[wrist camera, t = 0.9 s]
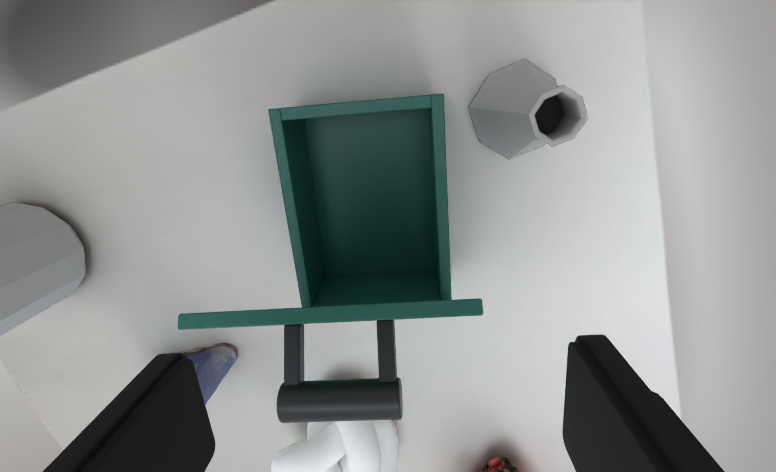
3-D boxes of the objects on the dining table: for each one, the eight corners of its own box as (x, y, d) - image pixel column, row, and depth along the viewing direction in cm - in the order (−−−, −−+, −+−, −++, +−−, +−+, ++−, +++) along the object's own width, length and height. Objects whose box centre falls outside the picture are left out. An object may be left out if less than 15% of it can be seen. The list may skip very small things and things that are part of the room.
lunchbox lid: (177, 313, 16) (170, 442, 15) (482, 298, 15) (494, 434, 14) (301, 314, 32) (302, 376, 31) (452, 307, 31) (456, 370, 30)
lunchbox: (295, 106, 33) (267, 109, 27) (437, 94, 33) (443, 93, 26) (321, 279, 38) (303, 316, 32) (444, 272, 38) (452, 309, 31)
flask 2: (233, 340, 41) (175, 420, 31) (243, 364, 42) (190, 449, 32) (151, 355, 42) (69, 437, 32) (162, 378, 43) (86, 465, 33)
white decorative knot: (298, 354, 41) (269, 421, 33) (414, 376, 41) (415, 449, 33) (286, 439, 45) (258, 519, 37) (393, 460, 45) (389, 544, 37)
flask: (526, 40, 31) (577, 16, 22) (580, 115, 33) (649, 122, 23) (451, 106, 33) (468, 110, 23) (505, 174, 34) (541, 203, 25)
